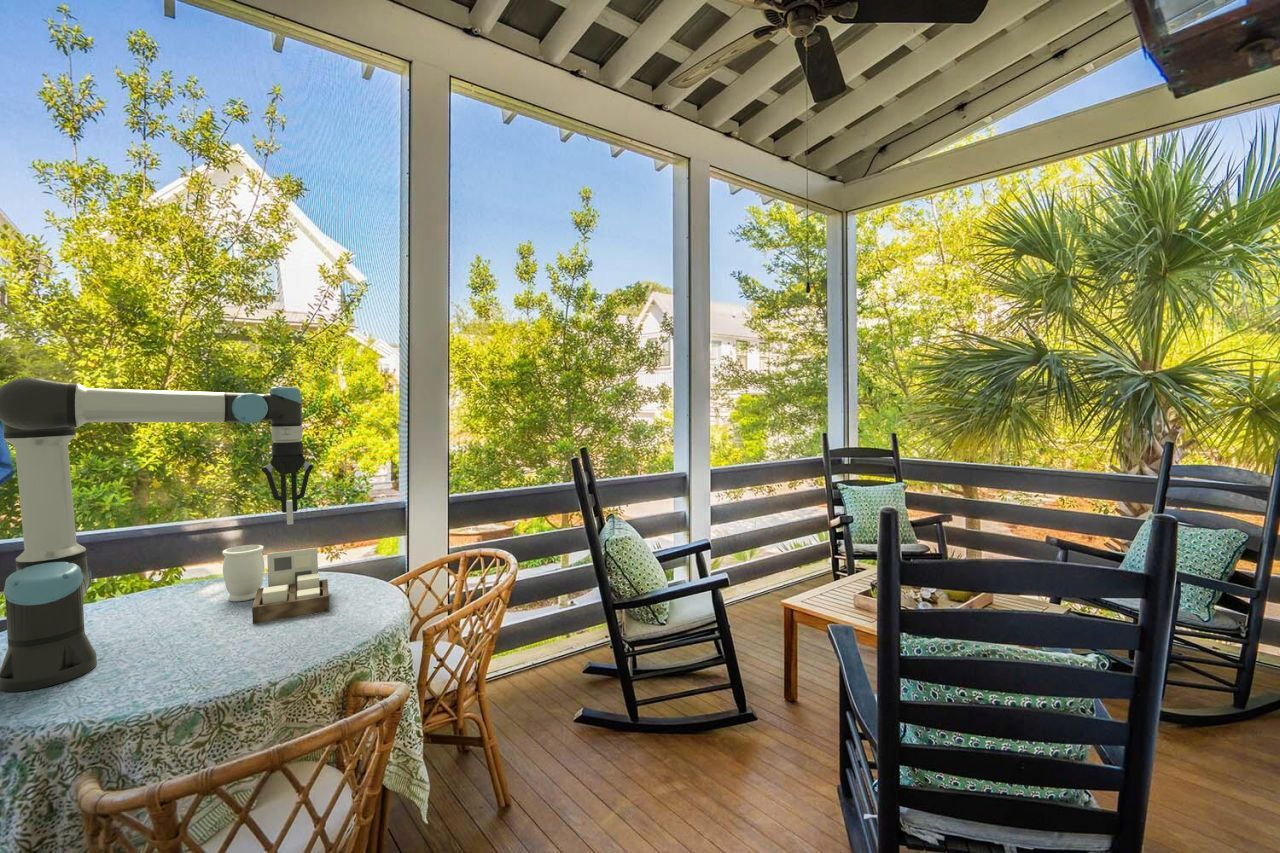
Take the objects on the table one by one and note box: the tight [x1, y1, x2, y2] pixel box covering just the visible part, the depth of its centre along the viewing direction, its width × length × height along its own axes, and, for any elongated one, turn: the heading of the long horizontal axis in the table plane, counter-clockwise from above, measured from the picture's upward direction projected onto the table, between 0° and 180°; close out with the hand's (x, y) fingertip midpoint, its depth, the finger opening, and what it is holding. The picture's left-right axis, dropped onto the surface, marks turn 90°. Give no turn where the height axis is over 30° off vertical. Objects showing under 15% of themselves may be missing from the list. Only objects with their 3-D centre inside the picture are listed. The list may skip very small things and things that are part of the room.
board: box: [251, 578, 330, 625], centre depth 167 cm, size 18×18×4 cm
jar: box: [222, 544, 265, 602], centre depth 176 cm, size 11×10×15 cm
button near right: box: [297, 587, 320, 599], centre depth 165 cm, size 6×6×4 cm
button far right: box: [297, 572, 320, 590], centre depth 172 cm, size 6×6×4 cm
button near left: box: [262, 585, 288, 604], centre depth 161 cm, size 6×6×4 cm
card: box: [266, 547, 319, 587], centre depth 176 cm, size 13×1×14 cm, turn 119°
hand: (290, 523), depth 166 cm, fingers closed
